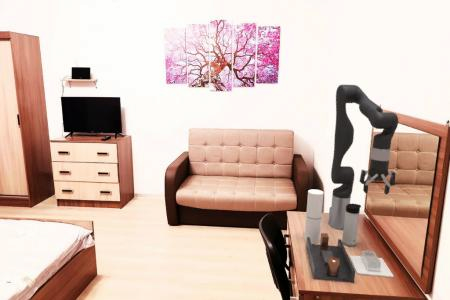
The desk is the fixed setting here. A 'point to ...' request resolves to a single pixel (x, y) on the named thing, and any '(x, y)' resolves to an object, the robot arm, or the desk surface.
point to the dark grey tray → (330, 261)
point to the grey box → (370, 261)
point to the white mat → (363, 271)
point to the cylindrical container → (314, 215)
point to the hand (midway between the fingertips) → (375, 193)
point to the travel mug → (351, 224)
